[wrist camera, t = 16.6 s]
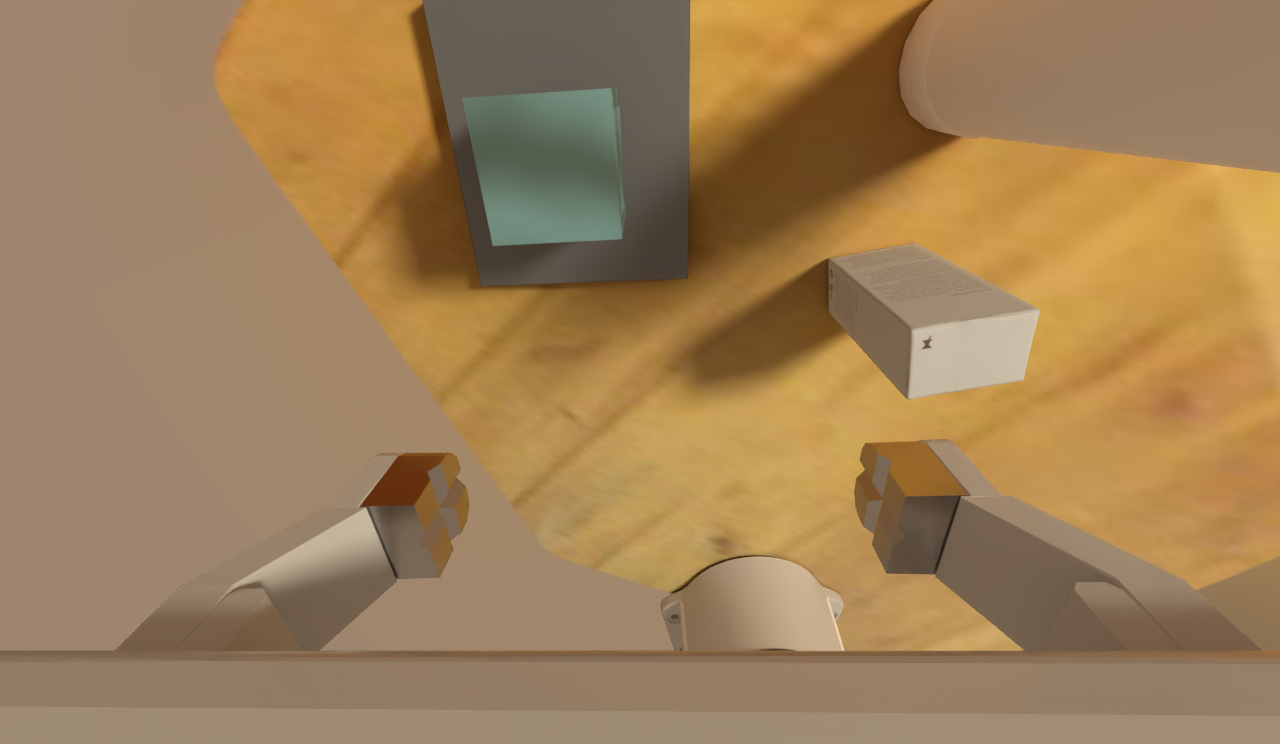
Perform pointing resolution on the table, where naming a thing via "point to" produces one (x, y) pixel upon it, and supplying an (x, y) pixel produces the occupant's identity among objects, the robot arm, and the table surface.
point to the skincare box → (930, 320)
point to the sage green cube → (550, 165)
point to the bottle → (1103, 76)
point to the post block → (567, 61)
